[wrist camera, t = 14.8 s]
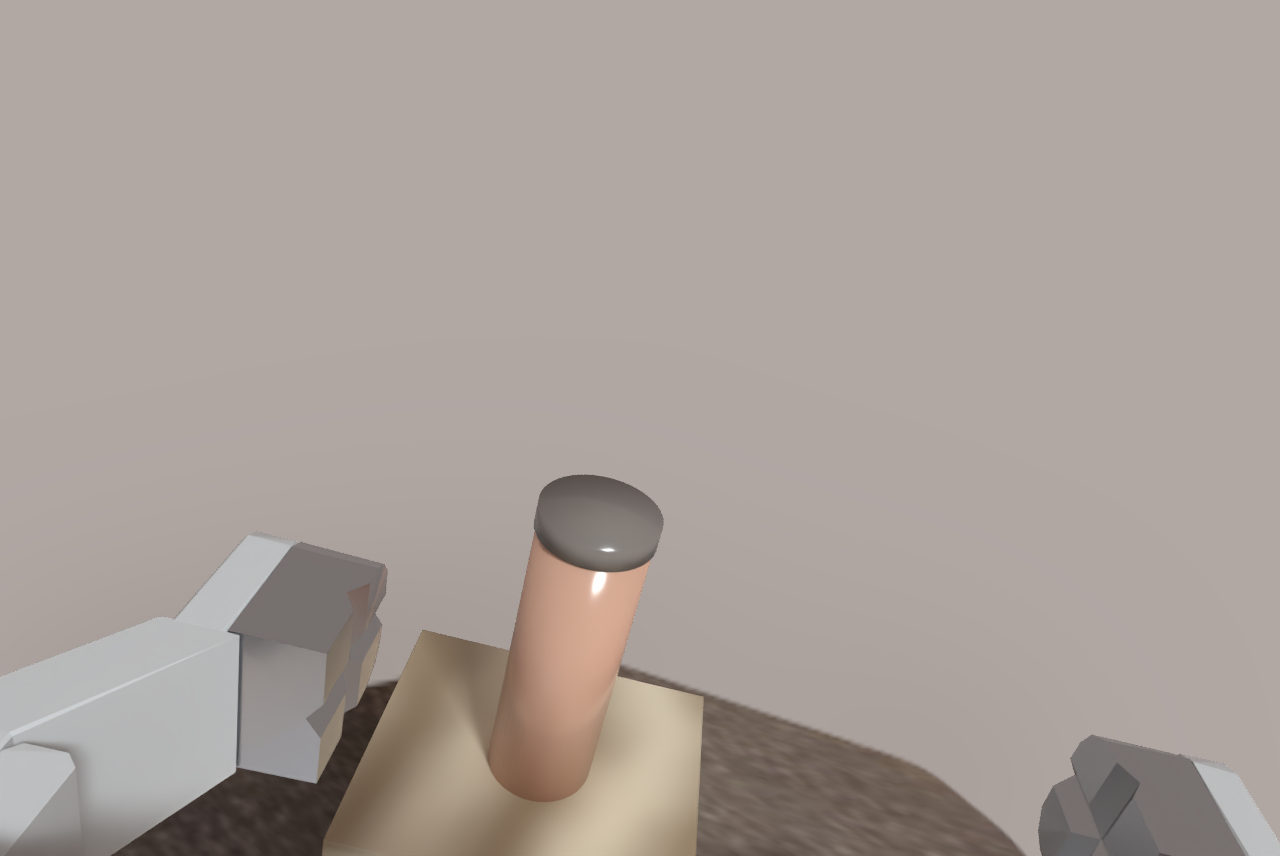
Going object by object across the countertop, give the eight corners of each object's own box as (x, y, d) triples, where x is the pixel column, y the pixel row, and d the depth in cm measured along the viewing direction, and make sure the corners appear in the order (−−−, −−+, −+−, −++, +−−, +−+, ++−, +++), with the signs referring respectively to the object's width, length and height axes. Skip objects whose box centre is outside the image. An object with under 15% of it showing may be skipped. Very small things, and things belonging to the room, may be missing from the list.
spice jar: (473, 790, 37) (527, 530, 31) (498, 707, 41) (550, 463, 35) (585, 815, 37) (659, 562, 31) (598, 730, 42) (666, 491, 35)
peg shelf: (309, 996, 39) (323, 839, 34) (402, 772, 49) (422, 629, 45) (634, 1072, 39) (692, 926, 34) (656, 832, 49) (703, 697, 45)
